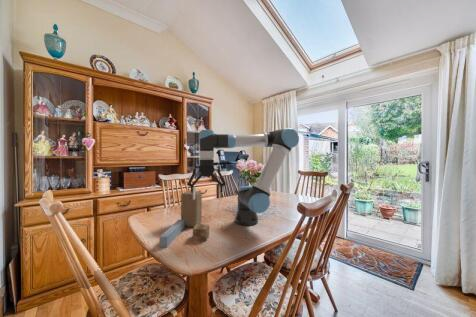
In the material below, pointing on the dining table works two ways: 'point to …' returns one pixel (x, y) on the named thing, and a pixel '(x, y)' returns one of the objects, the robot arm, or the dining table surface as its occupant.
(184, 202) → the wooden block
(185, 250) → the dining table surface
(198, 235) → the walnut block
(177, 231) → the bar
